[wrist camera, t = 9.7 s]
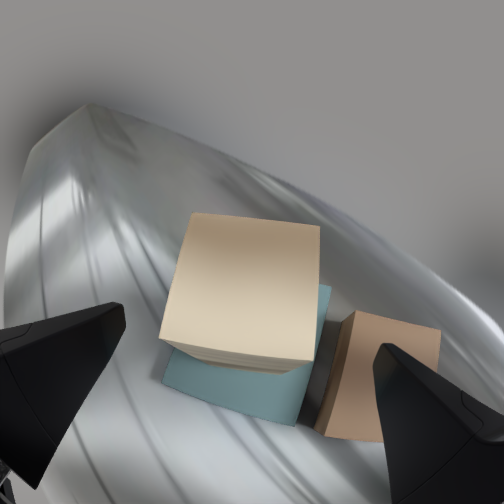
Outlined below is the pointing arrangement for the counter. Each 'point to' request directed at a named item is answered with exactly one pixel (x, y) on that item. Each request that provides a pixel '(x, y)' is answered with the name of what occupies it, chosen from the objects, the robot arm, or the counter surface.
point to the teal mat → (247, 381)
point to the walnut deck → (367, 373)
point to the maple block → (245, 293)
